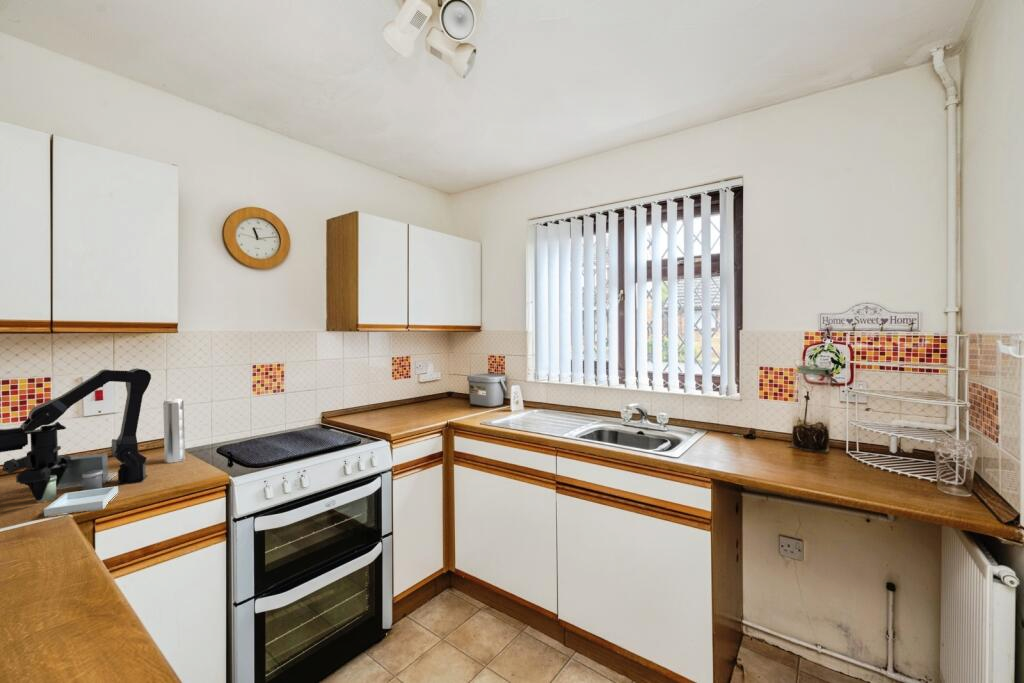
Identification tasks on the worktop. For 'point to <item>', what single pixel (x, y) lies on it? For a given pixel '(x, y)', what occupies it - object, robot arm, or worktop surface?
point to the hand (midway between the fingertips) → (46, 494)
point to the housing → (85, 469)
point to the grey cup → (92, 479)
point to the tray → (82, 501)
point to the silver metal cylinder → (174, 430)
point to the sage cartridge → (50, 490)
